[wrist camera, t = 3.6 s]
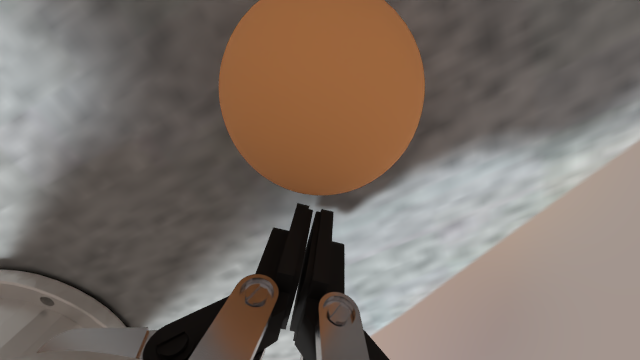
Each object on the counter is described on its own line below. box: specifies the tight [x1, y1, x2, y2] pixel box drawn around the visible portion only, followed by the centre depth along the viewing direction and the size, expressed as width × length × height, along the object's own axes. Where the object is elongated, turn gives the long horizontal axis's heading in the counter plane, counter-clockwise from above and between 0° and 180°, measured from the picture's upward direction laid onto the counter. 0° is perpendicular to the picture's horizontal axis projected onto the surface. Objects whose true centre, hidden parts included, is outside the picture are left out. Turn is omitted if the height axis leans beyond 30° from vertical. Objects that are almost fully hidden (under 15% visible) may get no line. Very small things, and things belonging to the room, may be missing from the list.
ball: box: [219, 0, 425, 195], centre depth 8 cm, size 6×6×6 cm
